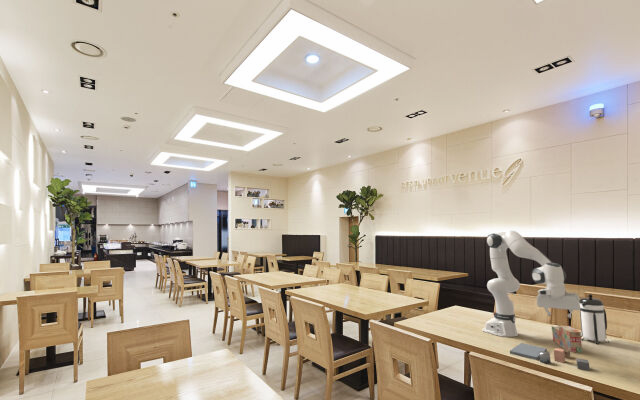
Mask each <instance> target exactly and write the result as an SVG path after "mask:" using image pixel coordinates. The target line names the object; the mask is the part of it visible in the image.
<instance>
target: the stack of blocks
mask: <svg viewBox="0 0 640 400" xmlns="http://www.w3.org/2000/svg"><path fill="white" fill-rule="evenodd" d="M551 331H552V332H551V333H552V334H551V335H552V341H554V342H555V343H556V344H558V345H559V346H561V348H564V349H569V350H570V353H583V348H582V345H583V344H582V340H581V339H582V337H581V336H582V331H580V330H578V329H576V328H574V327H572V326H570V325H558V326H557V325H556V326H554V325H553V326H552V325H551Z"/></svg>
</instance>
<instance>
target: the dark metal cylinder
mask: <svg viewBox="0 0 640 400" xmlns="http://www.w3.org/2000/svg"><path fill="white" fill-rule="evenodd" d="M539 357H540V358H539V362H540V363H541V364H544V365H546V364H547V365H550V364H552V363H551V362H552V361H551V353H550V352H549V351H547V352H544V351H540V352H539Z"/></svg>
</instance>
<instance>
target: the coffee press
mask: <svg viewBox="0 0 640 400" xmlns="http://www.w3.org/2000/svg"><path fill="white" fill-rule="evenodd" d="M587 296H588V297H581V298H580V300H579V303H580V310H579V316H580V317H579V318H580V328H581V331H580V332H581V341H583V340H589V341H593V342H595V345H598V346H599V344H600V342H605V343H607V342H608V343H607V344H609V343H610V341H609V340H608V338H607V332H606V331H607V329H608V321H607V320H608V319H607V313H606V312H607V311H606V309H605V308H604V306H605V305H604V303H603V301H602V300H601V299H598V298H596V297H593V295H592V294H591V293H590V294H588V295H587ZM582 337H583V338H582ZM606 340H607V341H606Z"/></svg>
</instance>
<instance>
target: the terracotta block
mask: <svg viewBox="0 0 640 400" xmlns="http://www.w3.org/2000/svg"><path fill="white" fill-rule="evenodd" d="M558 348H559V347H558ZM558 348H557V347H555V348H554V349H553V358H554V362H558V363H562V364H563V363H564V362H566V358H565V353H564V350H563V349H558Z"/></svg>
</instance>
